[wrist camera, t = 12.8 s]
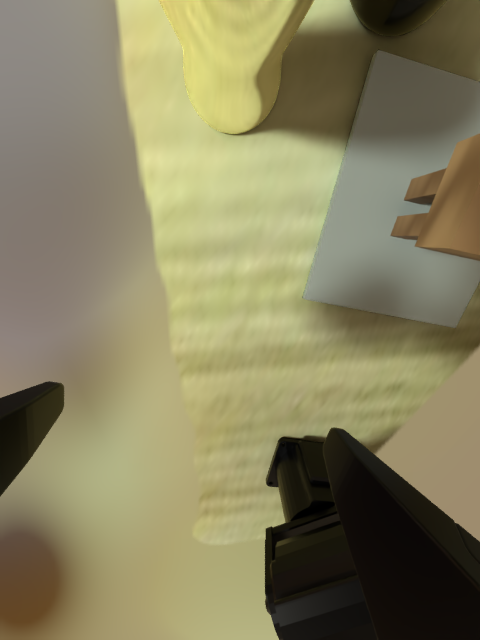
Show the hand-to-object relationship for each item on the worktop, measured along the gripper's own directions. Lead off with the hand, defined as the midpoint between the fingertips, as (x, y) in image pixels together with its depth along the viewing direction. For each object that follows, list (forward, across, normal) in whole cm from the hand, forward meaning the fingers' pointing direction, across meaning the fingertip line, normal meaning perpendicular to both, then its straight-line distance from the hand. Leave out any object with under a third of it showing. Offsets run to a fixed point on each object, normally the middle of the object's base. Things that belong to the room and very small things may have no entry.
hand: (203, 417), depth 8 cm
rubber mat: (+13, -13, -11) cm, 22 cm away
